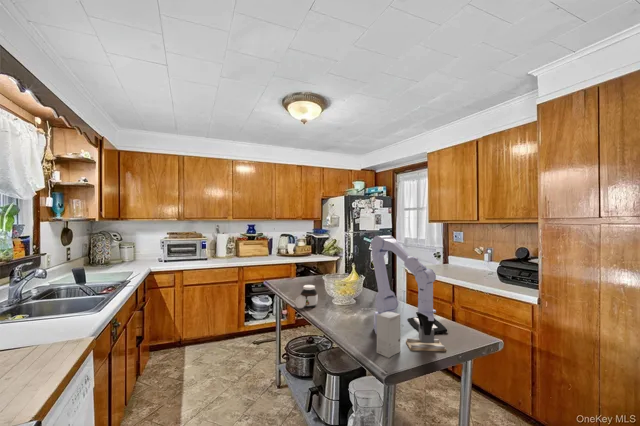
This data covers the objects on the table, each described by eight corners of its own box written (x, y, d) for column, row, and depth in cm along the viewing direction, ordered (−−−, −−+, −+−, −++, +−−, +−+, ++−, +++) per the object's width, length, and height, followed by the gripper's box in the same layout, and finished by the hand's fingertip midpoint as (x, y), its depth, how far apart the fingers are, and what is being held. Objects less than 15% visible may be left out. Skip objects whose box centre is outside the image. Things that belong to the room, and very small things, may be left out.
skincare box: (388, 358, 108) (389, 318, 108) (375, 353, 112) (375, 314, 113) (401, 351, 114) (401, 313, 114) (388, 346, 118) (388, 309, 118)
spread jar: (318, 304, 174) (318, 285, 174) (314, 310, 163) (314, 289, 163) (299, 303, 177) (299, 284, 177) (293, 308, 166) (293, 288, 166)
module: (421, 342, 116) (421, 327, 116) (418, 338, 120) (418, 324, 120) (434, 342, 116) (434, 328, 116) (430, 338, 120) (430, 324, 120)
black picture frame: (404, 316, 150) (431, 313, 151) (405, 321, 150) (431, 318, 151) (419, 331, 131) (449, 327, 131) (420, 337, 131) (450, 334, 131)
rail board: (410, 350, 115) (410, 345, 115) (405, 342, 122) (405, 338, 122) (446, 351, 114) (446, 346, 114) (439, 343, 122) (439, 339, 122)
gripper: (442, 304, 111) (442, 340, 111) (429, 294, 126) (429, 326, 125) (423, 304, 111) (423, 339, 111) (413, 294, 126) (413, 325, 126)
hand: (425, 332), depth 118 cm, fingers closed on module, 4 cm apart
